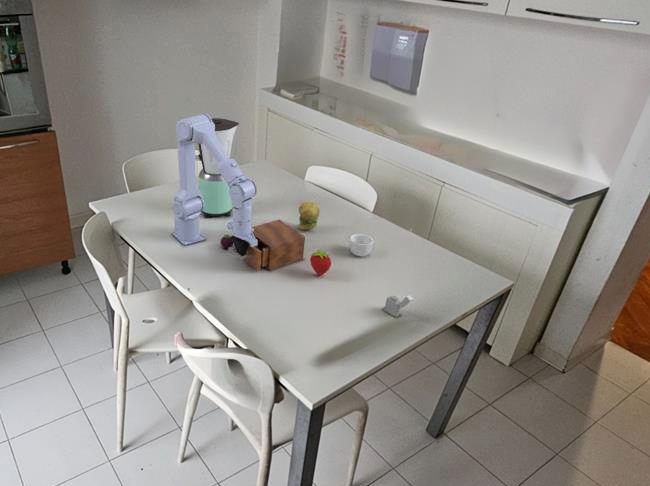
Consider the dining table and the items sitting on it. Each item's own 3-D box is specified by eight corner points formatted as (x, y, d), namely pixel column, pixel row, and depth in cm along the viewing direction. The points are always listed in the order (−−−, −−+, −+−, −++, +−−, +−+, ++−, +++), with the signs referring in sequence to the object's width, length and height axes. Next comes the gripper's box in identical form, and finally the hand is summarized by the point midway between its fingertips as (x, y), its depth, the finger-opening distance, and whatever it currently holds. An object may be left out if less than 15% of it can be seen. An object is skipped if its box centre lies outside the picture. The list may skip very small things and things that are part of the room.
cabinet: (269, 270, 168) (270, 247, 163) (245, 251, 178) (246, 228, 173) (302, 259, 174) (305, 236, 170) (278, 241, 184) (279, 219, 179)
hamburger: (310, 223, 196) (314, 194, 189) (321, 232, 190) (325, 202, 184) (293, 227, 193) (295, 197, 186) (303, 236, 187) (306, 206, 181)
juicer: (233, 202, 210) (235, 114, 191) (240, 217, 199) (243, 125, 180) (186, 205, 206) (183, 116, 187) (191, 221, 195) (188, 128, 176)
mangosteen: (218, 246, 180) (218, 234, 177) (229, 243, 182) (229, 231, 179) (224, 252, 177) (224, 240, 174) (235, 249, 179) (236, 237, 176)
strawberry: (318, 284, 162) (321, 256, 157) (304, 272, 167) (307, 245, 162) (333, 279, 164) (337, 251, 159) (319, 267, 170) (322, 241, 165)
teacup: (375, 254, 178) (378, 240, 175) (360, 261, 174) (363, 247, 171) (353, 242, 184) (355, 229, 182) (338, 249, 180) (340, 235, 178)
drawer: (244, 275, 164) (245, 256, 160) (223, 256, 173) (223, 238, 169) (289, 260, 172) (290, 242, 168) (266, 243, 181) (267, 226, 177)
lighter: (383, 309, 152) (388, 287, 147) (387, 307, 153) (392, 285, 148) (404, 322, 147) (410, 298, 143) (407, 319, 148) (413, 296, 144)
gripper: (266, 224, 157) (264, 263, 165) (240, 206, 168) (239, 243, 175) (246, 230, 154) (245, 269, 161) (221, 211, 164) (221, 249, 172)
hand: (241, 256), depth 168 cm, fingers closed, pressing on drawer
